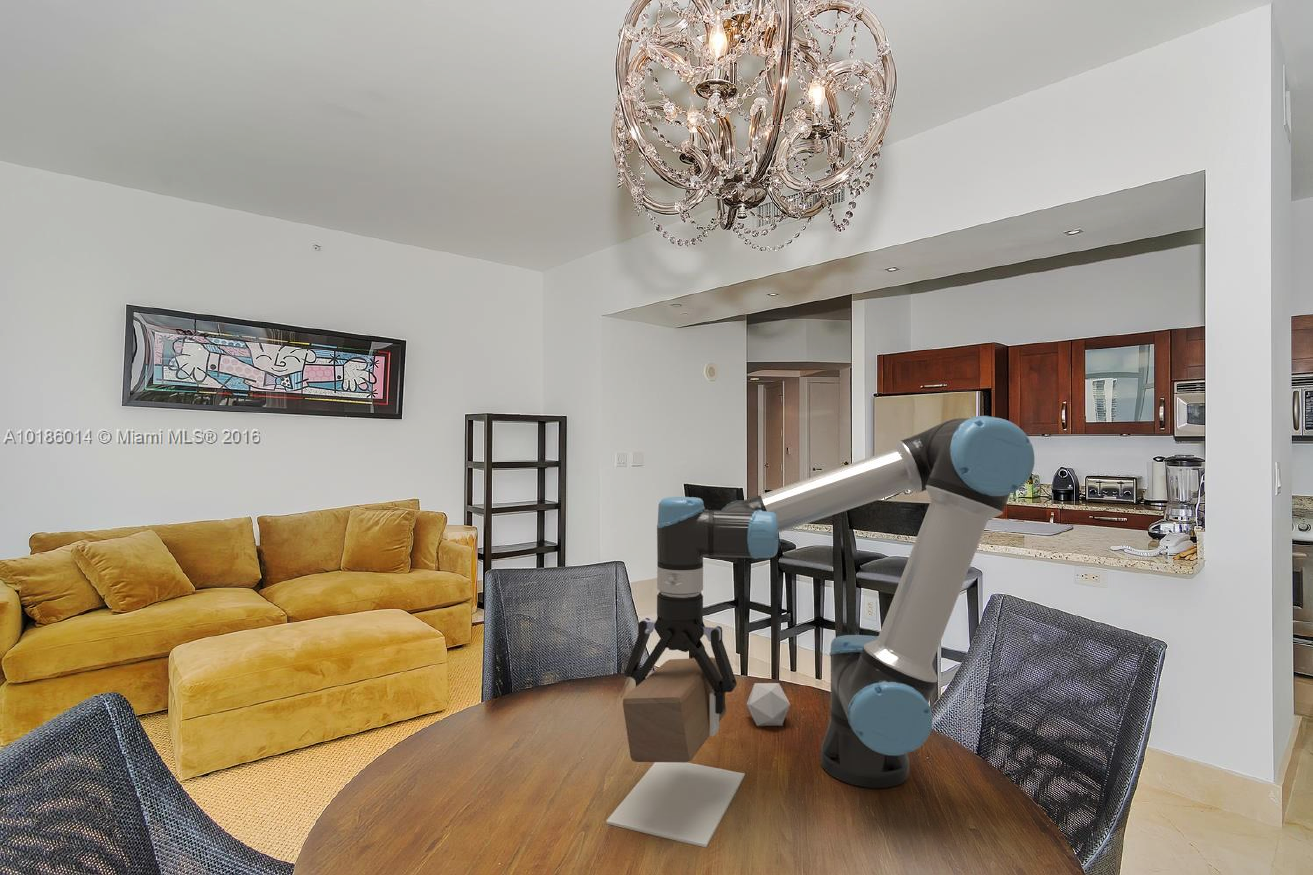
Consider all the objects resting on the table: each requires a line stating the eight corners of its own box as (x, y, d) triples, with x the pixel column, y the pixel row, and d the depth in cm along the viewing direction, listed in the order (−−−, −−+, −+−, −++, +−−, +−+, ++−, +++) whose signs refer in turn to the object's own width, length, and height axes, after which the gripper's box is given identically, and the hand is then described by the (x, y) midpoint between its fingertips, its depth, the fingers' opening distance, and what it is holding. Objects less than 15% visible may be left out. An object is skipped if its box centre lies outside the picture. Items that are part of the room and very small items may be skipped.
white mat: (744, 775, 117) (744, 773, 117) (706, 847, 96) (706, 844, 96) (659, 759, 123) (659, 756, 123) (606, 823, 102) (606, 820, 102)
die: (779, 739, 132) (801, 694, 135) (741, 714, 134) (763, 670, 137) (772, 736, 140) (793, 694, 143) (736, 713, 141) (757, 672, 144)
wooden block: (619, 697, 101) (666, 657, 120) (629, 764, 101) (675, 714, 119) (680, 695, 98) (719, 655, 116) (691, 765, 97) (728, 713, 116)
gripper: (604, 590, 110) (604, 723, 110) (744, 604, 101) (744, 748, 102) (623, 581, 117) (623, 706, 117) (756, 593, 108) (755, 729, 108)
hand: (679, 726), depth 109 cm, fingers closed on wooden block, 11 cm apart
